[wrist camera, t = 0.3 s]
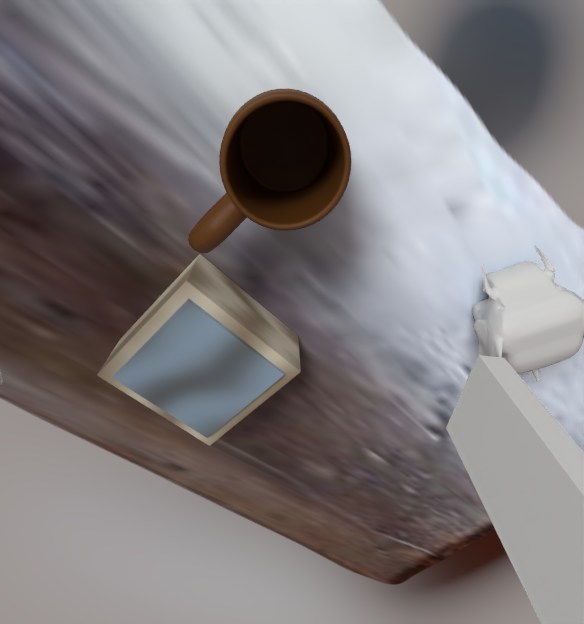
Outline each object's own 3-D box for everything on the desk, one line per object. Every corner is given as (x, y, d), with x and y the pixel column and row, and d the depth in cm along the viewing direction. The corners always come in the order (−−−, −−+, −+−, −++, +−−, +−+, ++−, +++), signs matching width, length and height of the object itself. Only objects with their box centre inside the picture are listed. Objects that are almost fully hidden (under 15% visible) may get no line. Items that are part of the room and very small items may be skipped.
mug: (242, 250, 34) (230, 300, 26) (173, 181, 31) (136, 214, 23) (354, 151, 31) (381, 173, 22) (288, 63, 28) (292, 51, 20)
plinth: (120, 338, 38) (94, 378, 33) (199, 253, 34) (185, 283, 29) (217, 404, 42) (208, 449, 37) (298, 336, 39) (301, 374, 33)
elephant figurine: (550, 223, 34) (630, 262, 26) (559, 334, 39) (628, 394, 32) (439, 263, 35) (483, 312, 28) (463, 364, 41) (506, 429, 33)
